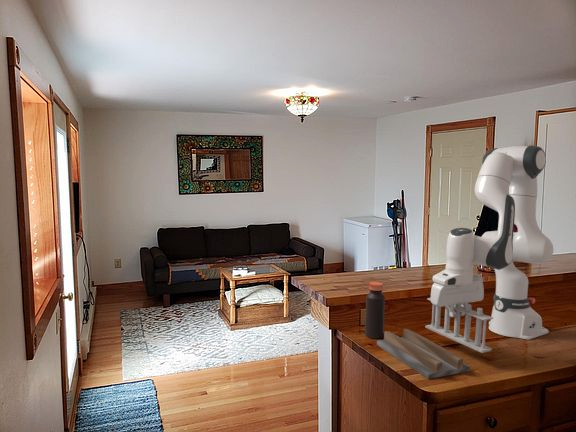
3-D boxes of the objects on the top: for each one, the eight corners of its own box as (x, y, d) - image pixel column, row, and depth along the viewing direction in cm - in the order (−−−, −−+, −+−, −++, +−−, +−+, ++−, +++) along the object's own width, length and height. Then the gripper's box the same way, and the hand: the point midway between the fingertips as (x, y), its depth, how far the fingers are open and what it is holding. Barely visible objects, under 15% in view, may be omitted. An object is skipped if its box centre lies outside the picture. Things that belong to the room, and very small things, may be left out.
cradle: (413, 339, 169) (414, 327, 169) (469, 371, 143) (470, 357, 143) (376, 344, 163) (377, 332, 163) (428, 378, 137) (428, 364, 137)
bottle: (371, 340, 168) (373, 286, 165) (361, 333, 174) (363, 281, 172) (387, 337, 170) (389, 284, 168) (376, 331, 176) (378, 280, 174)
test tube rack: (425, 327, 168) (427, 292, 166) (434, 325, 170) (436, 291, 169) (481, 353, 146) (484, 312, 144) (491, 350, 148) (494, 310, 146)
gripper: (475, 271, 162) (473, 309, 164) (428, 276, 155) (426, 316, 157) (489, 275, 157) (487, 314, 158) (441, 281, 149) (439, 322, 151)
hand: (456, 315), depth 157 cm, fingers closed on test tube rack, 2 cm apart
